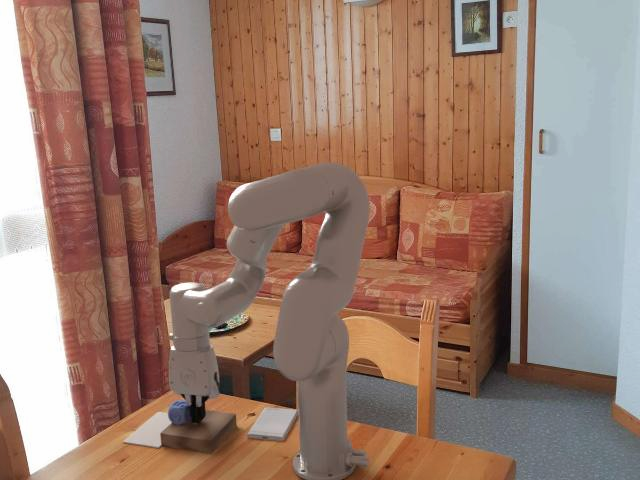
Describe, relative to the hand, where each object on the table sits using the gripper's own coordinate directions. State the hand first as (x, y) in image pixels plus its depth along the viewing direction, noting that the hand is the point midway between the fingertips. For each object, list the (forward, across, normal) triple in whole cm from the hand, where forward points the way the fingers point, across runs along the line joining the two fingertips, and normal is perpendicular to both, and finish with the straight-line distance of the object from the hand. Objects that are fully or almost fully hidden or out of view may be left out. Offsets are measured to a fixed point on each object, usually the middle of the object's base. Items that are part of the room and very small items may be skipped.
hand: (198, 420), depth 140 cm
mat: (+4, -10, 0) cm, 11 cm away
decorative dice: (+1, -4, 0) cm, 4 cm away
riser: (+4, 0, 0) cm, 4 cm away
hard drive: (+4, +14, +8) cm, 17 cm away
